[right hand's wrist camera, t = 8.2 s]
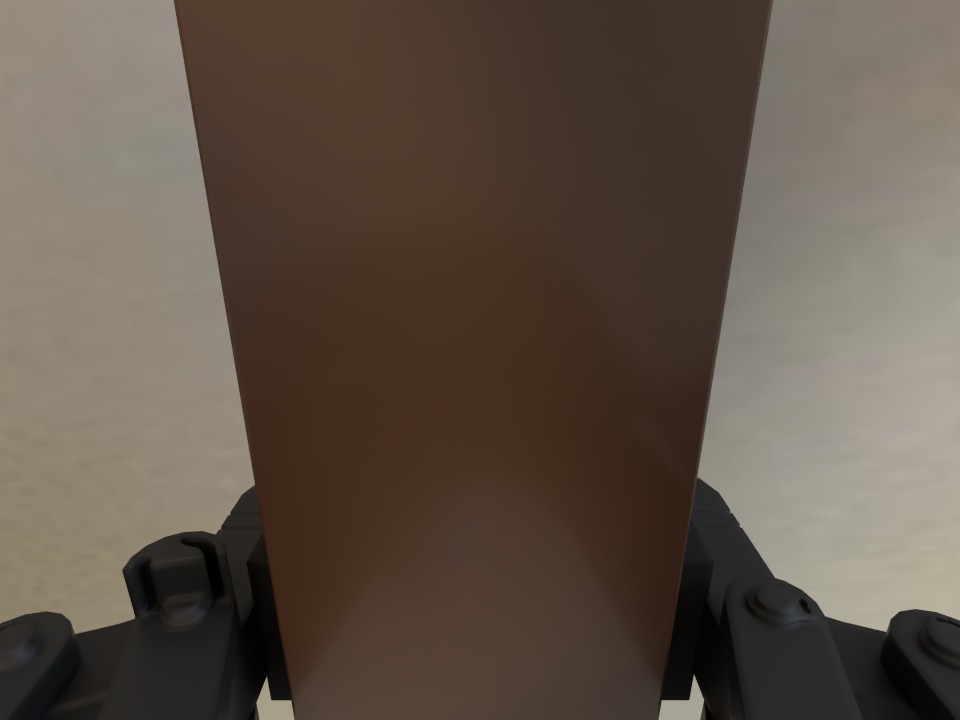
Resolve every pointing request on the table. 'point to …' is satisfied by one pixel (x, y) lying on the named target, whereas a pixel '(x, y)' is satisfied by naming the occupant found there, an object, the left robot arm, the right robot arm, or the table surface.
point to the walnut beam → (474, 330)
